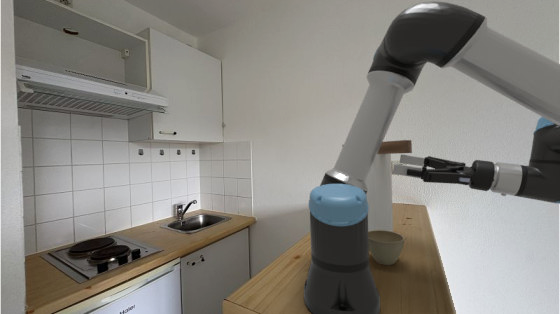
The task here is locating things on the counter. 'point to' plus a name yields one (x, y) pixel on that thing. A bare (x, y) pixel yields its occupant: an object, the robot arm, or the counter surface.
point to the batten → (395, 147)
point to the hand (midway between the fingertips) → (397, 163)
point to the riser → (380, 194)
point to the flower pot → (385, 246)
